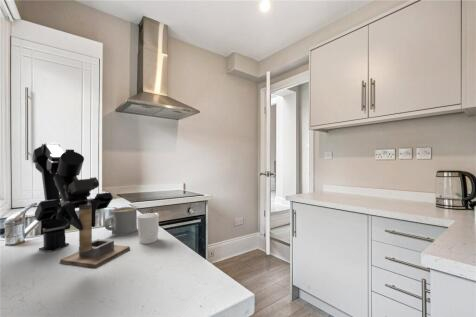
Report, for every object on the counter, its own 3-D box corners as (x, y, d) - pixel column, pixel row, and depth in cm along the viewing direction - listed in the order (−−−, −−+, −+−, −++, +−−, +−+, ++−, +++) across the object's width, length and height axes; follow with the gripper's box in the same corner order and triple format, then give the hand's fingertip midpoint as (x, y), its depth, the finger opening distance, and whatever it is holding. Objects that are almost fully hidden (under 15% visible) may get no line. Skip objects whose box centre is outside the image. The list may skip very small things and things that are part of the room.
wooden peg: (76, 251, 64) (76, 205, 64) (86, 247, 67) (86, 203, 67) (84, 252, 63) (84, 206, 63) (94, 248, 66) (94, 204, 66)
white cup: (151, 245, 84) (151, 218, 84) (133, 243, 85) (132, 217, 85) (162, 237, 92) (162, 213, 92) (145, 236, 93) (145, 212, 93)
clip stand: (59, 262, 70) (59, 250, 70) (98, 245, 84) (98, 235, 84) (95, 267, 66) (95, 254, 67) (129, 249, 80) (129, 238, 80)
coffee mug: (131, 226, 108) (131, 205, 108) (140, 231, 101) (140, 208, 101) (100, 233, 98) (99, 210, 98) (107, 239, 91) (107, 214, 91)
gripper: (38, 171, 59) (57, 218, 53) (109, 167, 75) (130, 204, 69) (27, 198, 63) (44, 244, 57) (97, 189, 79) (115, 225, 74)
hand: (87, 227), depth 64 cm, fingers closed on wooden peg, 3 cm apart
